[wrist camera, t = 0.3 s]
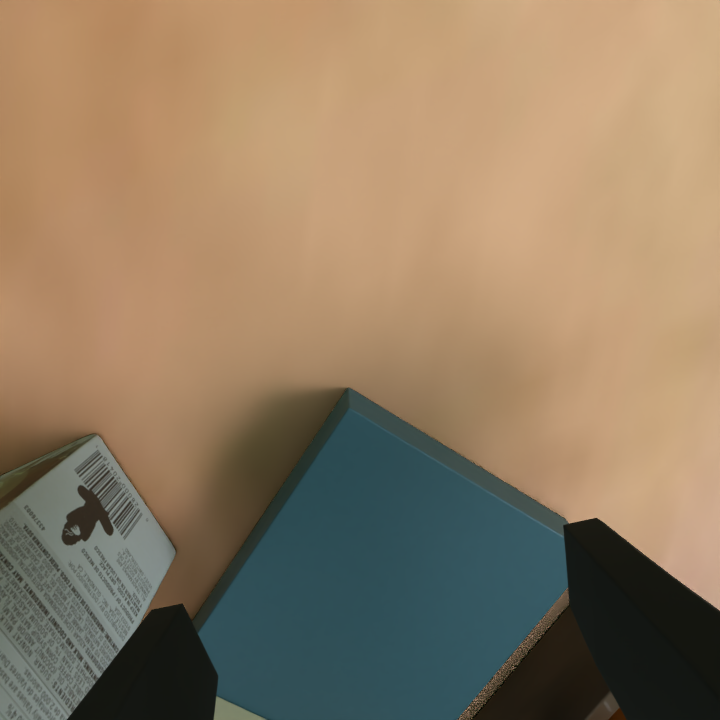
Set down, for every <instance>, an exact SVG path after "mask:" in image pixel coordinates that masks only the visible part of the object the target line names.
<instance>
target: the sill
mask: <svg viewBox="0 0 720 720" xmlns="http://www.w3.org/2000/svg"><path fill="white" fill-rule="evenodd" d="M565 524H569V523H568V522H567V520H566V519H564V518H563V517H561V516H560V515H558V514H556V513H555V512H553V511H551V510H550V509H548V508H546V507H545V506H543V505H541V504H540V503H538V502H537V501H535V500H533V499H532V498H530V497H528V496H527V495H525V494H523V493H522V492H520V491H518V490H517V489H515V488H514V487H512V486H510V485H509V484H507V483H505V482H504V481H502V480H500V479H499V478H497V477H495V476H494V475H492V474H491V473H489V472H487V471H486V470H484V469H482V468H481V467H479V466H477V465H476V464H474V463H472V462H471V461H469V460H468V459H466V458H464V457H463V456H461V455H459V454H458V453H456V452H454V451H453V450H451V449H449V448H448V447H446V446H445V445H443V444H441V443H440V442H438V441H436V440H435V439H433V438H431V437H430V436H428V435H426V434H425V433H423V432H422V431H420V430H418V429H417V428H415V427H413V426H412V425H410V424H408V423H407V422H405V421H403V420H402V419H400V418H399V417H397V416H395V415H394V414H392V413H390V412H389V411H387V410H385V409H384V408H382V407H380V406H379V405H377V404H376V403H374V402H372V401H371V400H369V399H367V398H366V397H364V396H362V395H361V394H359V393H357V392H356V391H354V390H353V389H351V388H347V389H346V390H345V392H344V394H343V395H342V397H341V398H340V400H339V401H338V403H337V404H336V406H335V407H334V409H333V410H332V412H331V413H330V415H329V416H328V418H327V419H326V421H325V422H324V424H323V425H322V427H321V428H320V430H319V431H318V433H317V434H316V436H315V437H314V439H313V440H312V442H311V443H310V445H309V446H308V448H307V449H306V451H305V452H304V454H303V455H302V457H301V458H300V460H299V461H298V463H297V464H296V466H295V467H294V469H293V470H292V472H291V473H290V475H289V476H288V478H287V479H286V481H285V482H284V484H283V485H282V487H281V488H280V490H279V491H278V493H277V494H276V496H275V497H274V499H273V500H272V502H271V503H270V505H269V506H268V508H267V509H266V511H265V512H264V514H263V515H262V517H261V518H260V520H259V521H258V523H257V524H256V526H255V527H254V529H253V530H252V532H251V533H250V535H249V536H248V538H247V540H246V541H245V543H244V544H243V546H242V547H241V549H240V550H239V552H238V553H237V555H236V556H235V558H234V559H233V561H232V562H231V564H230V565H229V567H228V568H227V570H226V571H225V573H224V574H223V576H222V577H221V579H220V580H219V582H218V583H217V585H216V586H215V588H214V589H213V591H212V592H211V594H210V595H209V597H208V598H207V600H206V601H205V603H204V604H203V606H202V607H201V609H200V610H199V612H198V613H197V615H196V616H195V618H194V619H193V621H192V623H193V625H194V627H195V629H196V631H197V633H198V635H199V637H200V639H201V641H202V643H203V645H204V647H205V650H206V652H207V654H208V656H209V658H210V660H211V662H212V664H213V666H214V668H215V670H216V672H217V674H218V685H217V695H216V704H215V713H214V720H457V719H458V718H459V717H460V715H461V714H462V713H463V712H464V711H465V709H466V708H467V707H468V706H469V705H470V703H471V702H472V701H473V700H474V699H475V697H476V696H477V695H478V694H479V693H480V692H481V690H482V689H483V688H484V687H485V686H486V684H487V683H488V682H489V681H490V680H491V678H492V677H493V676H494V675H495V674H496V672H497V671H498V670H499V669H500V668H501V666H502V665H503V664H504V663H505V662H506V660H507V659H508V658H509V657H510V656H511V654H512V653H513V652H514V651H515V650H516V649H517V647H518V646H519V645H520V644H521V643H522V641H523V640H524V639H525V638H526V637H527V635H528V634H529V633H530V632H531V631H532V629H533V628H534V627H535V626H536V625H537V623H538V622H539V621H540V620H541V619H542V617H543V616H544V615H545V614H546V613H547V612H548V610H549V609H550V608H551V607H552V606H553V604H554V603H555V602H556V601H557V600H558V598H559V597H560V596H561V595H562V594H563V592H564V591H565V590H566V589H567V588H568V578H567V566H566V554H565V542H564V529H563V525H565Z"/></svg>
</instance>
